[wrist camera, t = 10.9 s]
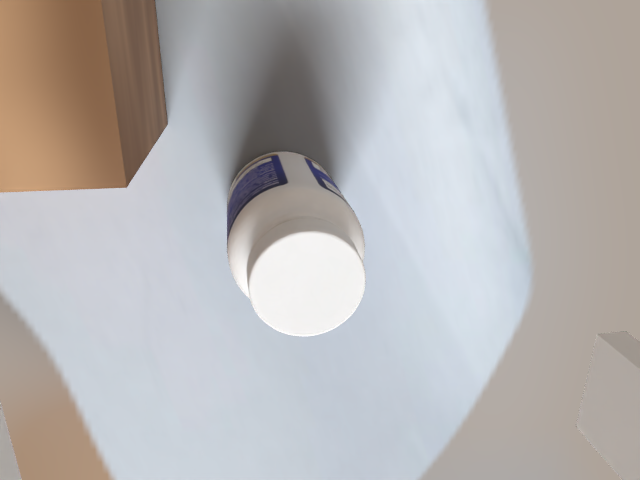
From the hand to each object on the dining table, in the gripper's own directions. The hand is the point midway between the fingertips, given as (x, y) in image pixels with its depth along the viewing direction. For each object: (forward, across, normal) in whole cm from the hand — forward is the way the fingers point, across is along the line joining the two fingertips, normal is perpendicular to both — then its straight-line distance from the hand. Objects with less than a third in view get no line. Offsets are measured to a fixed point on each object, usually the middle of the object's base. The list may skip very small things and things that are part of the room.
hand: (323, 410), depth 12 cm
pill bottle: (+15, +1, 0) cm, 15 cm away
